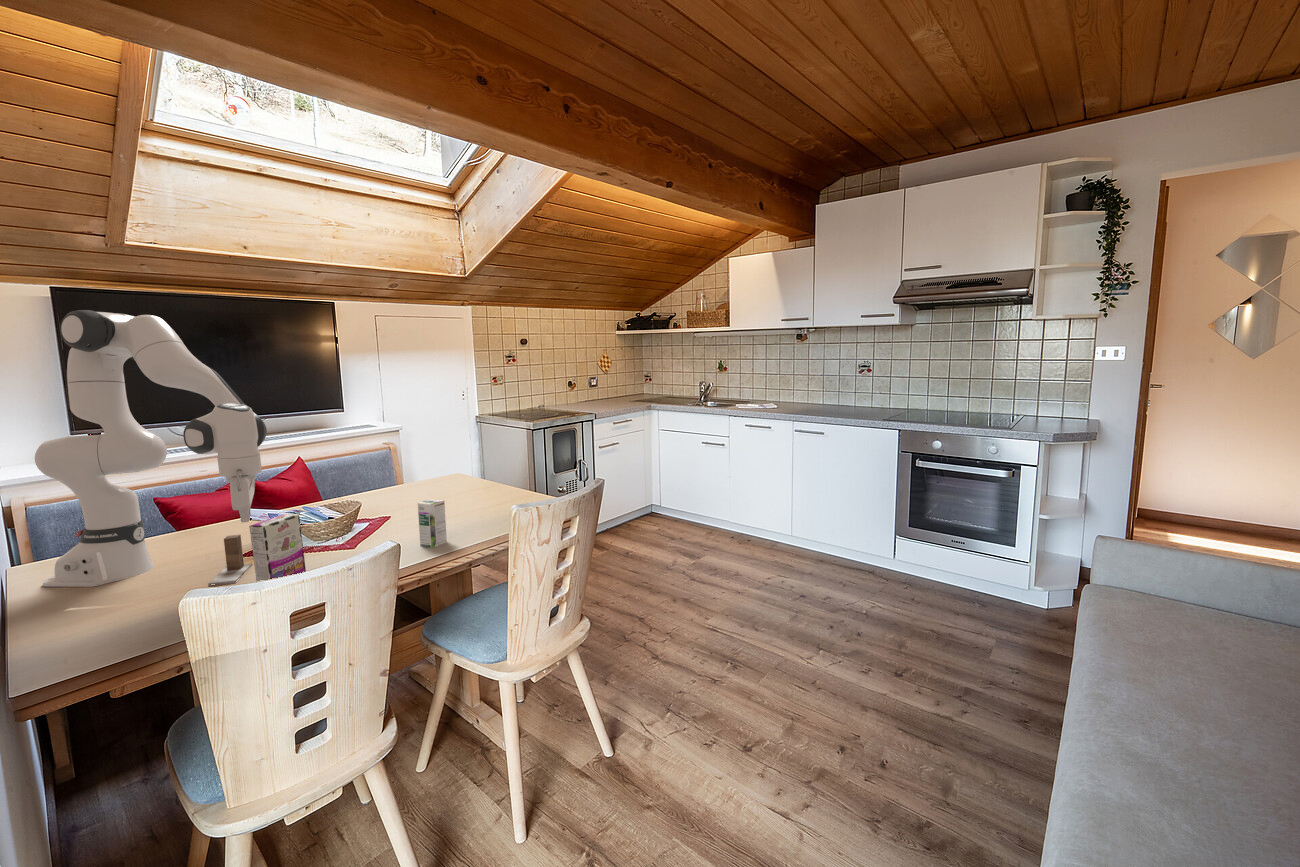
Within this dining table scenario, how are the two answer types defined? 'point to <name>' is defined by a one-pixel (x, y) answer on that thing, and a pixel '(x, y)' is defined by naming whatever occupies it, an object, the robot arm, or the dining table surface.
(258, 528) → the candy bar box
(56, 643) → the dining table surface
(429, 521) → the syrup box
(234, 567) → the upright block on plate
